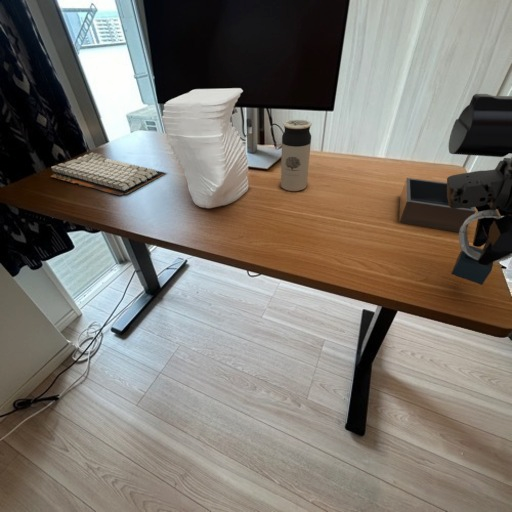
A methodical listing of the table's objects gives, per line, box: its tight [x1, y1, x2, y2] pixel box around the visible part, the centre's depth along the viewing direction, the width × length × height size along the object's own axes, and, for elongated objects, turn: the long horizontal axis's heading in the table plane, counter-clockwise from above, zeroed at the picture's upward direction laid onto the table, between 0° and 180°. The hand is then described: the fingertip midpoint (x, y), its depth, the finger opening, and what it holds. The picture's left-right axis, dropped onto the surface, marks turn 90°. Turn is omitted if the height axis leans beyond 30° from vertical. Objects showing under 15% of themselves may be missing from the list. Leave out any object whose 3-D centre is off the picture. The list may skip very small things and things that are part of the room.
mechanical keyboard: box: [50, 152, 167, 196], centre depth 93 cm, size 38×19×3 cm, turn 63°
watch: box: [451, 210, 512, 286], centre depth 43 cm, size 6×8×11 cm
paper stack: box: [161, 87, 250, 209], centre depth 72 cm, size 21×27×26 cm
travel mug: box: [280, 119, 313, 192], centre depth 77 cm, size 8×8×18 cm
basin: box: [399, 177, 477, 233], centre depth 67 cm, size 14×14×6 cm
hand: (479, 254), depth 44 cm, fingers closed on watch, 4 cm apart
